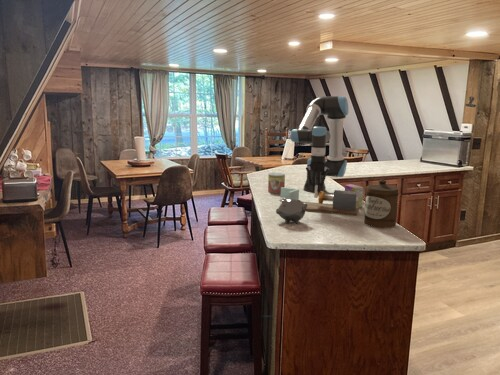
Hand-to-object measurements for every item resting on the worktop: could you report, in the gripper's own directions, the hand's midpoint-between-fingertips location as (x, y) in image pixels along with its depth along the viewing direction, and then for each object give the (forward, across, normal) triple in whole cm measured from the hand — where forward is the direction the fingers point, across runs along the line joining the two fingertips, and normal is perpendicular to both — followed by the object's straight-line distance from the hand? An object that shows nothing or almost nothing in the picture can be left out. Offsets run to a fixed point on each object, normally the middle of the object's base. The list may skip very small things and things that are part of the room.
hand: (315, 197), depth 216 cm
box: (+7, +20, +15) cm, 26 cm away
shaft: (+3, +12, 0) cm, 13 cm away
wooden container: (+7, +34, -21) cm, 41 cm away
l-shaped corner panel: (+7, -20, +13) cm, 25 cm away
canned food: (+7, -32, +40) cm, 52 cm away
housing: (+5, +16, 0) cm, 17 cm away
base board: (+6, +4, 0) cm, 7 cm away
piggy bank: (+7, -7, -33) cm, 34 cm away
